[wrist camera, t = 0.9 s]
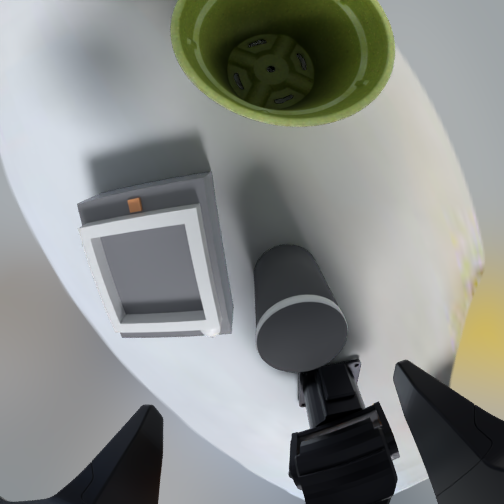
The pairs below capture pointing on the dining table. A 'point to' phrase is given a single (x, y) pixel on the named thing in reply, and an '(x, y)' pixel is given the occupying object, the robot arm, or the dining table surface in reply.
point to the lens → (295, 311)
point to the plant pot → (285, 56)
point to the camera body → (159, 258)
